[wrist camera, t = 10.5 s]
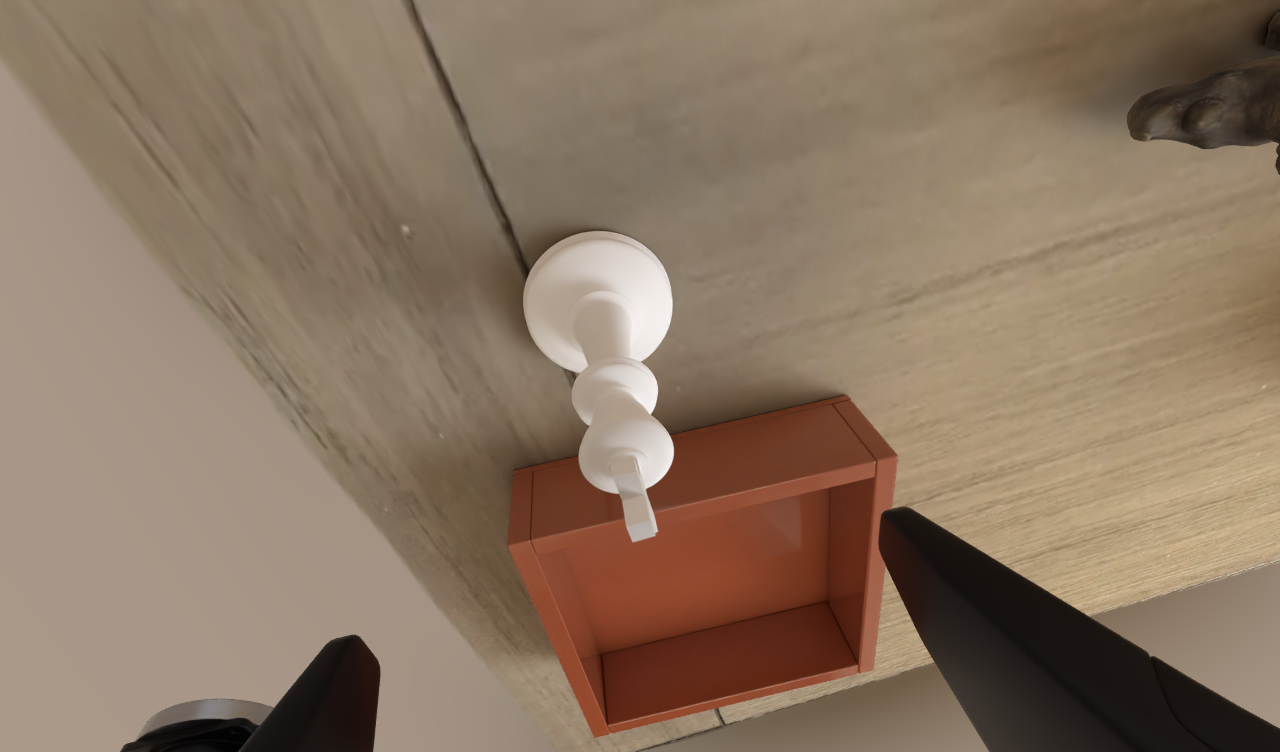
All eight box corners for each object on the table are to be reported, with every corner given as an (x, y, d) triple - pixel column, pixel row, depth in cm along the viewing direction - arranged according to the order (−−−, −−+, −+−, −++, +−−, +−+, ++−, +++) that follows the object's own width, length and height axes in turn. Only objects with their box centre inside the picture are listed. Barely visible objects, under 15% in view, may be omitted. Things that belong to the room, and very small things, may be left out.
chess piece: (553, 384, 19) (555, 644, 11) (499, 257, 17) (447, 472, 8) (684, 344, 19) (789, 576, 11) (651, 210, 17) (755, 380, 8)
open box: (588, 660, 28) (593, 738, 25) (513, 470, 21) (506, 545, 18) (838, 601, 29) (874, 670, 26) (847, 394, 22) (899, 455, 18)
